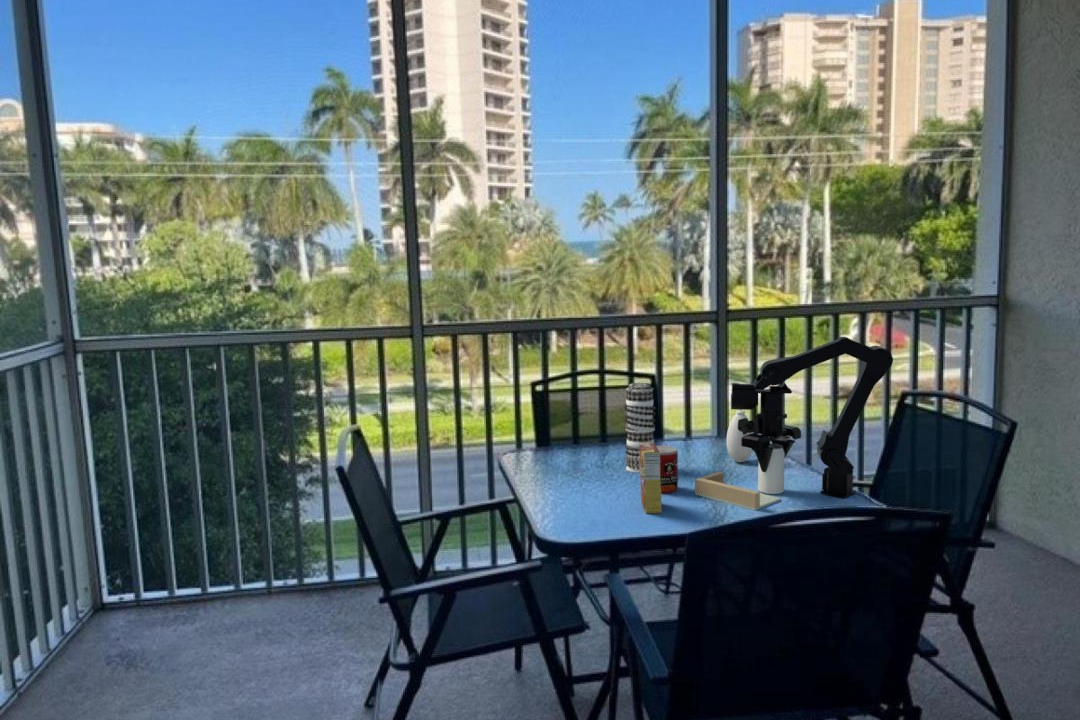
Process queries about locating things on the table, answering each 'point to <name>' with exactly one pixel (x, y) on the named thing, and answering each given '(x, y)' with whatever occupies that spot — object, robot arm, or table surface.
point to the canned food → (668, 468)
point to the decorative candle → (638, 422)
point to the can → (773, 473)
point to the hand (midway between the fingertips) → (771, 469)
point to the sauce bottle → (737, 439)
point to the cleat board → (731, 493)
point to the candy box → (650, 478)
